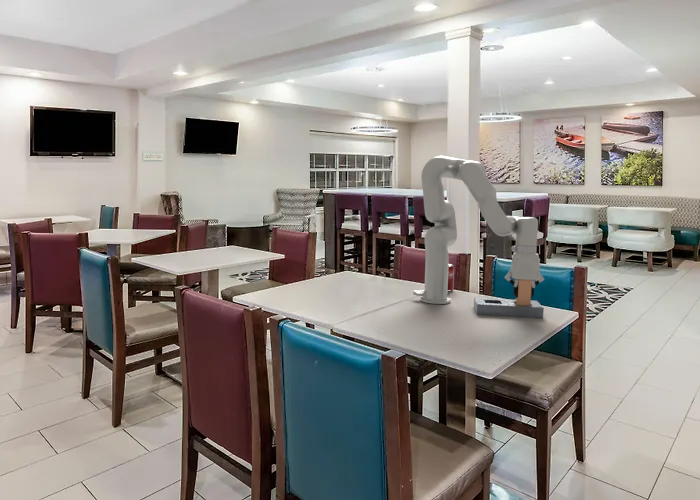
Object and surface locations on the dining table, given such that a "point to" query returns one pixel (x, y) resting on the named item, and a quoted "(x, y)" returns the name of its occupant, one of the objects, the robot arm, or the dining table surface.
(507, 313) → the gray peg hole board
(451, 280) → the soda can
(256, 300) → the dining table surface
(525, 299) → the square peg
